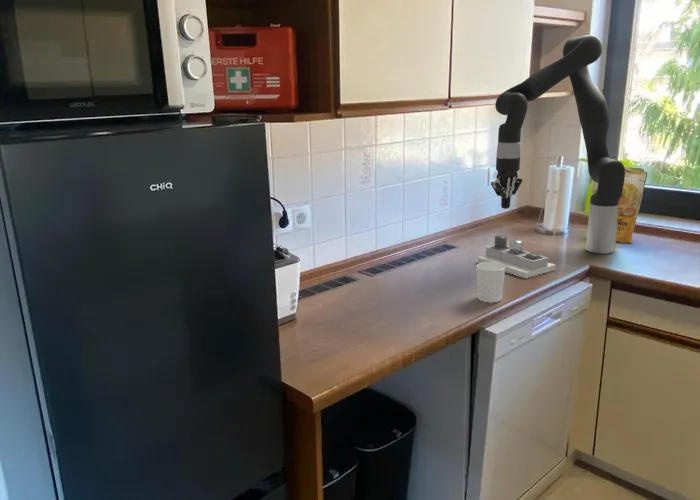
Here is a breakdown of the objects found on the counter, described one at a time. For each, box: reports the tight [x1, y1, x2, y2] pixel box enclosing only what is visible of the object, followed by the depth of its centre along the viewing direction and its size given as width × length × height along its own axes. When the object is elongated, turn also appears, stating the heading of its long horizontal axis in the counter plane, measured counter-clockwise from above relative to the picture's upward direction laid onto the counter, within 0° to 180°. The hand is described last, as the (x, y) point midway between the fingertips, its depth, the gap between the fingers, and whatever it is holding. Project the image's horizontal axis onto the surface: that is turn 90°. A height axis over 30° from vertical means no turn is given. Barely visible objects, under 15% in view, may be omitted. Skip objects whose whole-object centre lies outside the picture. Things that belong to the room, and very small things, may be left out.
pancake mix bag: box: [591, 166, 648, 244], centre depth 219 cm, size 7×19×28 cm, turn 44°
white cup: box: [476, 262, 506, 303], centre depth 164 cm, size 8×8×10 cm
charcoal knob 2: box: [526, 252, 540, 260], centre depth 186 cm, size 4×4×4 cm
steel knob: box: [509, 238, 524, 253], centre depth 191 cm, size 4×4×4 cm
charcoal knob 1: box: [494, 234, 508, 248], centre depth 197 cm, size 4×4×4 cm
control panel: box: [477, 244, 556, 279], centre depth 192 cm, size 14×21×5 cm, turn 32°
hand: (505, 208), depth 192 cm, fingers closed
